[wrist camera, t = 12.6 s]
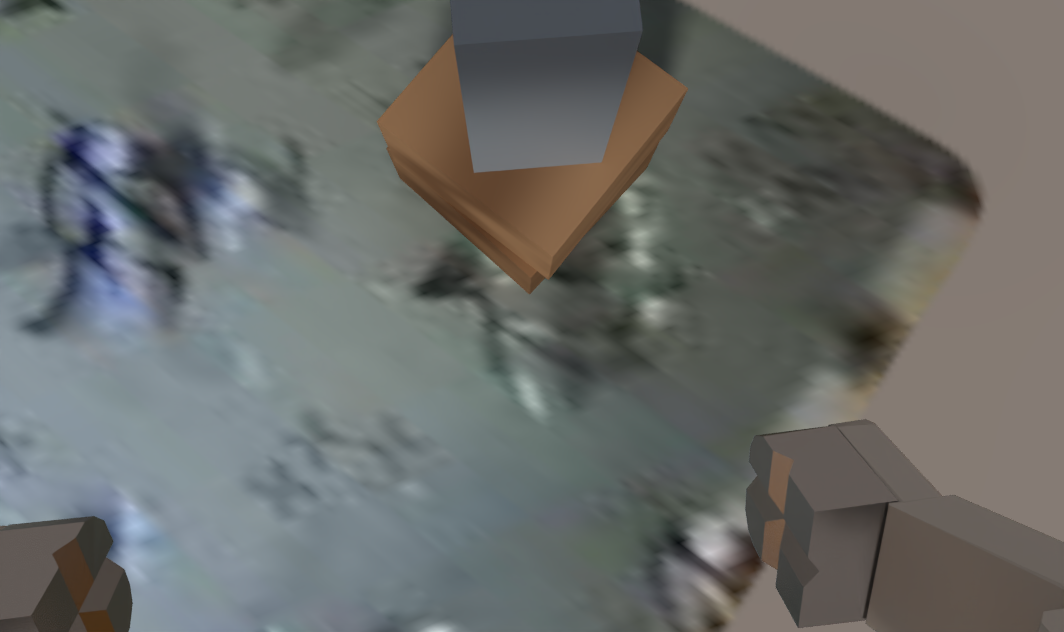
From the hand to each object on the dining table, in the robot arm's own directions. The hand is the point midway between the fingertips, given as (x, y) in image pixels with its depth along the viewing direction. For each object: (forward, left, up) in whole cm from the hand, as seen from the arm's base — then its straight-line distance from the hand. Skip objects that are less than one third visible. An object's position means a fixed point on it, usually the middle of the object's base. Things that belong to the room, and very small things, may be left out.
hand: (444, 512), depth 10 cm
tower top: (-6, +9, -17) cm, 20 cm away
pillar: (-6, +9, -13) cm, 17 cm away
